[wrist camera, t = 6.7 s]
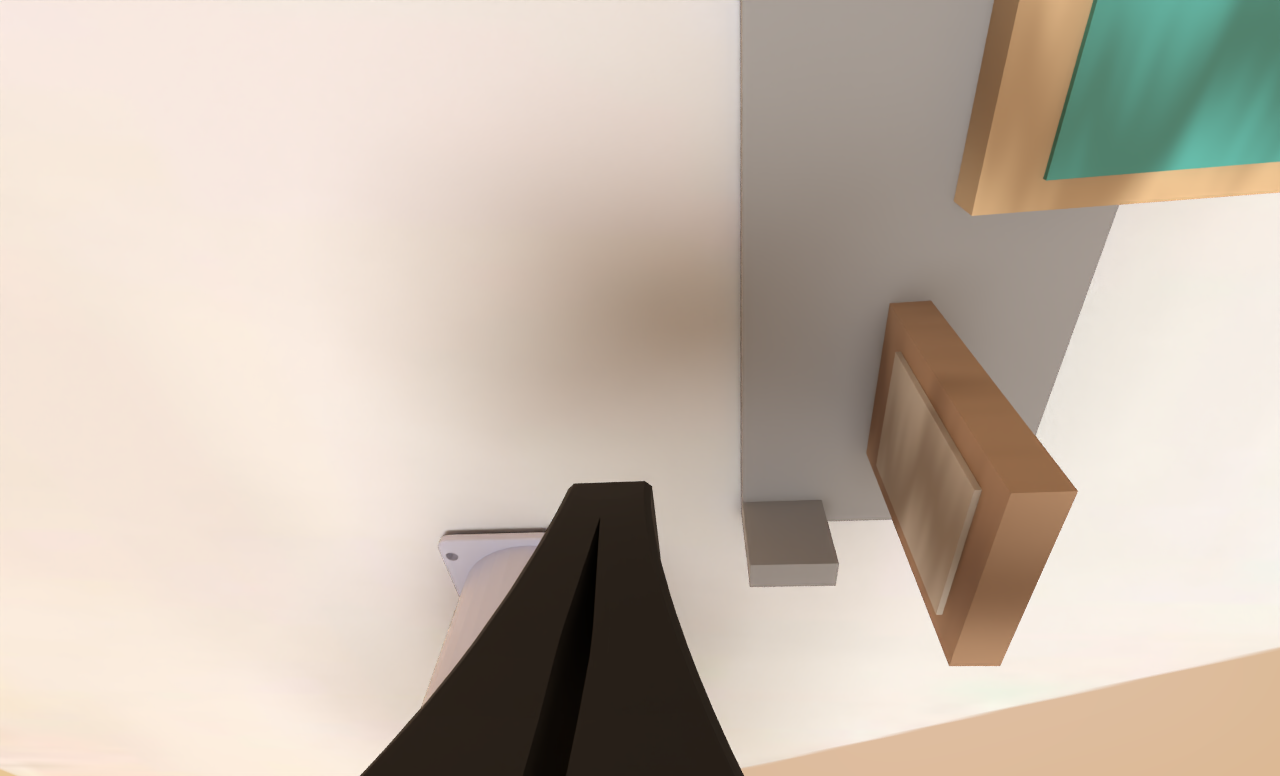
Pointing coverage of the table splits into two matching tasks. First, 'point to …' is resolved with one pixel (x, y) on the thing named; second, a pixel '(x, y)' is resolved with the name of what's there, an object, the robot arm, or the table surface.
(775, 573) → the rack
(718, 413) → the table surface
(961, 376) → the walnut tile
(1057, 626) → the table surface
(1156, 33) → the oak tile
